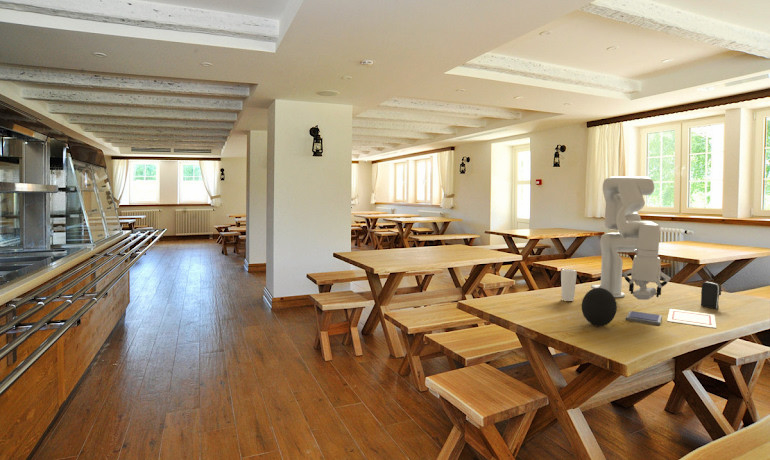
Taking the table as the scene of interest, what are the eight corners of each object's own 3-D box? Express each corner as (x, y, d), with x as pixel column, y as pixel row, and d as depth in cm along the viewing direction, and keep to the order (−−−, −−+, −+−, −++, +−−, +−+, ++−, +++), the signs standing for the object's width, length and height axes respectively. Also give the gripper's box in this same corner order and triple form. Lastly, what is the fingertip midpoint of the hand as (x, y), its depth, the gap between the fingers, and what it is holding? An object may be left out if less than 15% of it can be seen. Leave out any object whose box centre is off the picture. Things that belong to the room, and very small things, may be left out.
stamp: (661, 296, 182) (656, 276, 182) (654, 300, 178) (649, 280, 178) (638, 296, 189) (633, 277, 189) (631, 301, 185) (626, 281, 185)
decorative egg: (582, 319, 183) (584, 283, 182) (616, 323, 177) (618, 286, 175) (579, 327, 172) (580, 289, 171) (614, 332, 166) (616, 293, 165)
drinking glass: (557, 299, 216) (558, 268, 215) (570, 298, 217) (572, 268, 215) (564, 302, 210) (565, 271, 208) (578, 302, 210) (579, 271, 209)
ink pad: (625, 320, 181) (625, 316, 181) (629, 313, 191) (629, 310, 191) (660, 325, 175) (660, 321, 174) (661, 318, 184) (662, 314, 184)
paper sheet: (667, 321, 180) (667, 320, 180) (669, 309, 198) (669, 308, 198) (716, 328, 171) (716, 327, 171) (714, 315, 189) (714, 314, 189)
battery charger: (721, 308, 199) (723, 283, 198) (715, 309, 198) (717, 284, 197) (705, 304, 206) (707, 280, 204) (699, 305, 204) (701, 281, 203)
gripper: (622, 252, 182) (619, 293, 185) (672, 257, 173) (669, 300, 175) (624, 250, 189) (622, 289, 191) (673, 254, 179) (670, 296, 181)
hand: (644, 294), depth 183 cm, fingers closed on stamp, 8 cm apart
